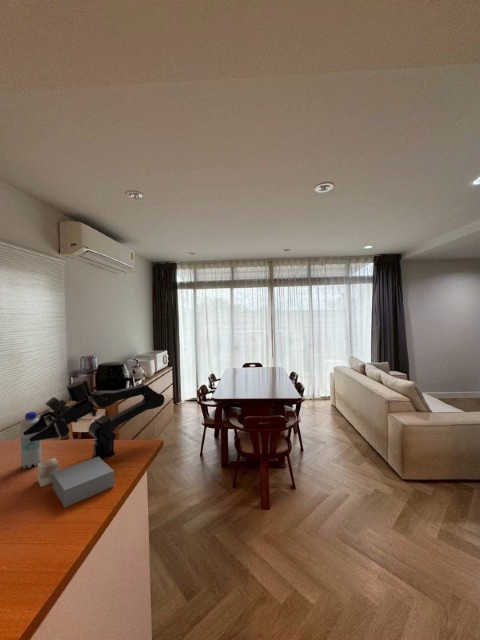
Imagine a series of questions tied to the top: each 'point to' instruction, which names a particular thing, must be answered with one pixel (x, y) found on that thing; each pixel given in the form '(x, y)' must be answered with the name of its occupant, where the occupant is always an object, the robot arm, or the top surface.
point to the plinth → (82, 480)
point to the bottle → (29, 443)
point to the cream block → (47, 471)
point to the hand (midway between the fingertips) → (26, 437)
